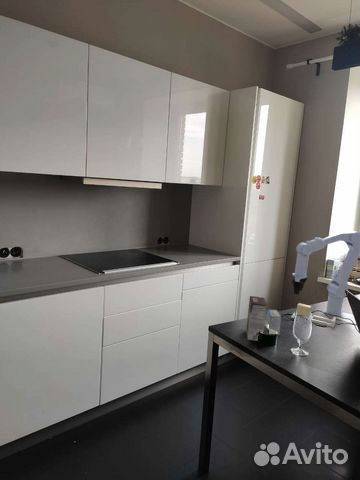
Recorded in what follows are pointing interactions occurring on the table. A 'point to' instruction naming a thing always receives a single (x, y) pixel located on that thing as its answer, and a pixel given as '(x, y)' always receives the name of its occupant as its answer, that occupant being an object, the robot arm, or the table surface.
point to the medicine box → (274, 320)
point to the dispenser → (324, 320)
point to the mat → (294, 315)
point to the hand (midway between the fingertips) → (298, 292)
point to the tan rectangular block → (303, 309)
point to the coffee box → (256, 317)
